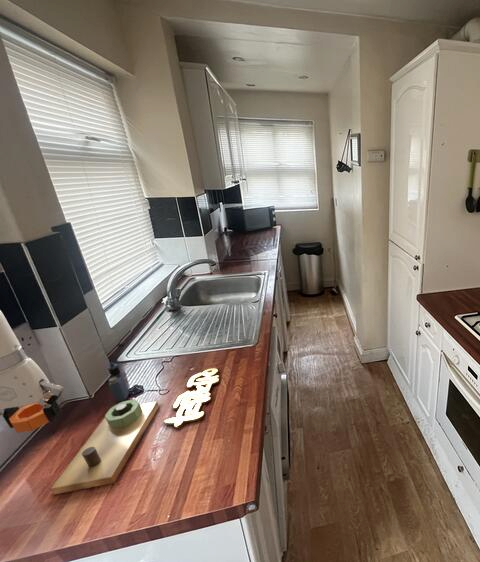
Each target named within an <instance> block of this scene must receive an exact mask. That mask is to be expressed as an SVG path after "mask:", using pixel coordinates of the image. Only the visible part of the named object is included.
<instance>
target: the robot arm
mask: <svg viewBox="0 0 480 562" xmlns="http://www.w3.org/2000/svg"><path fill="white" fill-rule="evenodd" d="M64 389H65V387H64V386H62V385H59V384H55V383H52V382H50V380H49V379H48V377H47V376H46V375H45V373H44V371H43V370H42V369H41V367H40V366H39V365H38V364H37V363H36V362H35V360H33V358H31V357H29V356H28V355H27V353H26V352H25V350H24V348H23V346H22V345H21V343H20V341H19V339H18V338H17V336H16V334H15V333H14V330H13V329H12V327H11V326H10V324H9V322H8V320H7V318H6V317H5V315H4V313H3V311H2V310H1V309H0V417H2V418H3V419H4V420H5V422H6V423H7V425H8V426H9V428H10V429H12V428H14V427H13V425H12V424H11V422H10V420H9V418H10V417H11V416H12V415H13V414H14V413H15V412H16V411H18V410H19V409H20V408H19V407H24V406H27V405H31V404H35V403H38V404H40V405H41V406H43V407H45V408H44V409H43V412H44V413H45V415H46V417H47V418H48V420H49V421H50V422H54V421H55V420H56V419H57V418H58V416H60V415H61V414H62V412H63V411H62V409H61V407H60V405H59V404H58V400H59V399H60V397H61V395H62V393H63V392H64ZM44 397H45V398H46V399H45V398H44ZM47 399H49V400H48V401H46V400H47ZM14 429H15V428H14Z"/></svg>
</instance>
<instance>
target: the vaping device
mask: <svg viewBox="0 0 480 562" xmlns="http://www.w3.org/2000/svg"><path fill="white" fill-rule="evenodd" d="M107 371H108V372H109V374H110V376H111V377H110V378H109V379H108V385H109V386H108V387H109V390H110V391H111V394H112V396H113V398H114V400H115V402H116V403H117V404H119V403H121V402H124V401H127V398H128V396H129V395H130V390H129V388H128V385H127V383H126V380H125V378H124V376H123V374H122V372H121V370H120V367H119V364H117V363H114V362H110V363H109V364H108V366H107Z"/></svg>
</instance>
